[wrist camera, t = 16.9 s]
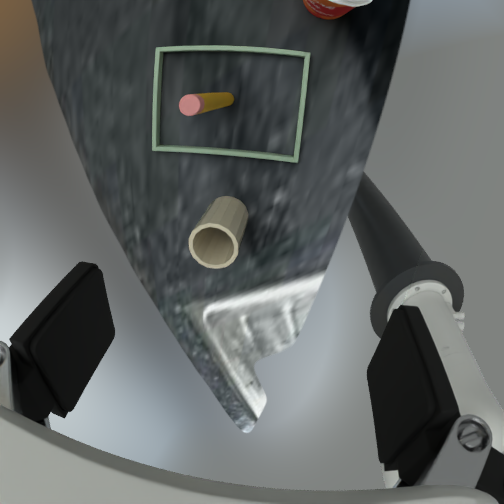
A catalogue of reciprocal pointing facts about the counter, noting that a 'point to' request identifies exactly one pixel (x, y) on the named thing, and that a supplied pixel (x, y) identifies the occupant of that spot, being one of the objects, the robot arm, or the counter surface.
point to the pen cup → (219, 233)
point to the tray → (221, 151)
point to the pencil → (204, 102)
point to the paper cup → (332, 7)
